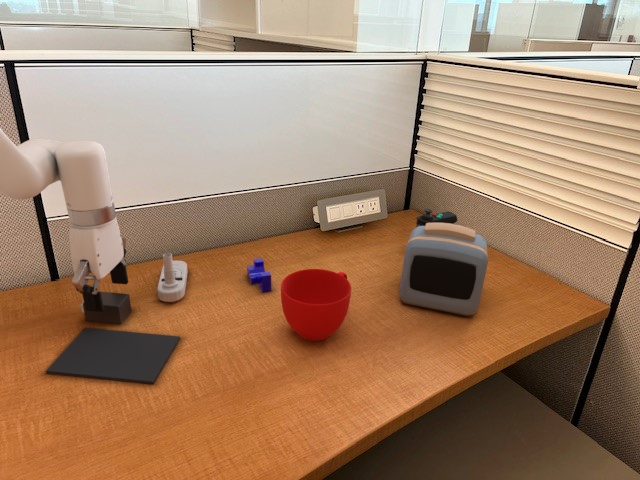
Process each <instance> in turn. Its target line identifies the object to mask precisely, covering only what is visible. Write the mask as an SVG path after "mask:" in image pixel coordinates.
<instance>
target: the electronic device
mask: <svg viewBox="0 0 640 480" xmlns="http://www.w3.org/2000/svg"><path fill="white" fill-rule="evenodd" d="M162 261H163V262H162V263H163V265H162V267H161V272H160V276H159V279H158V283H157V287H156V289H157V297H158V299H159V300H160V301H162V302H165V303H167V302H168V303H174V302H178V301H179V300H182V299H183V297H184V296H185V294H186V287H187V280H188V272H189V271H188V264H187V262H185V261H183V260H173V254H172V253H171V252H167V253H163V254H162Z"/></svg>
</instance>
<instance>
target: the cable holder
mask: <svg viewBox="0 0 640 480" xmlns="http://www.w3.org/2000/svg"><path fill="white" fill-rule="evenodd" d="M246 268H247V269H246V276H247V278H248V280H249V283H250V285H258V287H259V289H260V291H261V293H268V292H272V273H271V272H270V271H266V270H265V261H264V259H263V258H253V264H252V265H248V266H246Z"/></svg>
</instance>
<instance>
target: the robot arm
mask: <svg viewBox="0 0 640 480" xmlns="http://www.w3.org/2000/svg"><path fill="white" fill-rule="evenodd" d="M105 150H106V149H105V148H104V146H103V145H102V144H101V143H99V142H98V141H92V140H76V141H63V140H62V141H61V140H55V139H48V138H32V139H28V140H26V141H24V142H22V143H21V144H18V145H16V144H15V143H14V142H13V141H12V139H10V138H9V137H8V136H7V134H6V133H5V132H4V131H3V130H2V128H1V127H0V194H1V195H3V196H6V197H7V198H10V199H12V200H13V199H14V200H28V199H33V198H34V197H36V196H38V195H39V194H41V193H42V192H43V191H44V190H46V189H47V188H48V187H49V186H50V185H53V184H54V183H56V182H58V181H60V183H61V188H62V193H63V197H64V203H65V206H66V212H67V216H68V220H69V224H70V226H69V249H70V256H71V265H72V269H73V274H74V275H73V277H72V279H71V284H72V285H73V287H74V288H75V290H76V291H77V292H79V294H81V295H82V299H83V302H84V304H85V308H86V310H87V311H96V312H102V311H103V310H104V306H103V301H102V296H101V292H102V291H100V292H99V287H100V283H101V280H103V278H105V277H106V276H107V275H108V274H109V275H110V279H111V283H112V284H115V285H128V284H129V276H128V271H127V270H128V269H127V259H126V254H127V249H126V247H127V243H126V242H127V238H125V237H122V234H121V230H120V226H119V223H118V220H117V212H116V207H115V200H114V196H113V195H114V194H113V190H112V185H111V177H110V173H109V167H108V160H107V154H106V151H105ZM89 274H92V275H89ZM89 281H92V286H91V285H89V284H88V283H89Z"/></svg>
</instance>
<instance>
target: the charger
mask: <svg viewBox="0 0 640 480" xmlns="http://www.w3.org/2000/svg"><path fill="white" fill-rule="evenodd" d="M98 291H99V290H98ZM99 292H101V296H102V301H103V306H104V310H103V311H102V312H96V311H87V310H86V308H85V304H84V301H82V302H81V303H80V310H81V313H84V318H85V321H86V322H94V323H104V324H105V323H106V324H114V325H115V324H117V325H122V324H123V323H124V321H125V320H126V319H127V318H128V316H129V315H130V314H131V313H132V304H131V298H130V293H123V292H122V293H121V292H109V291H99Z"/></svg>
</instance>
